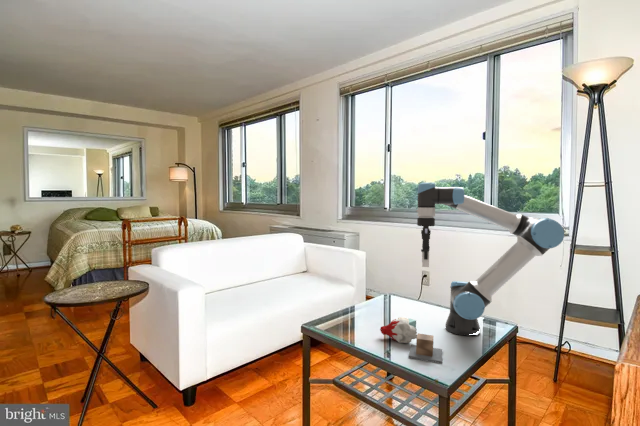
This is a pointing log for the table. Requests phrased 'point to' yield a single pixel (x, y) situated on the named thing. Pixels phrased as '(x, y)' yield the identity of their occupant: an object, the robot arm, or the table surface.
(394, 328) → the white two-tone toothed figurine
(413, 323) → the teal block
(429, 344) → the walnut cube
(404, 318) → the cream capsule cylinder
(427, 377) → the table surface
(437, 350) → the mat
